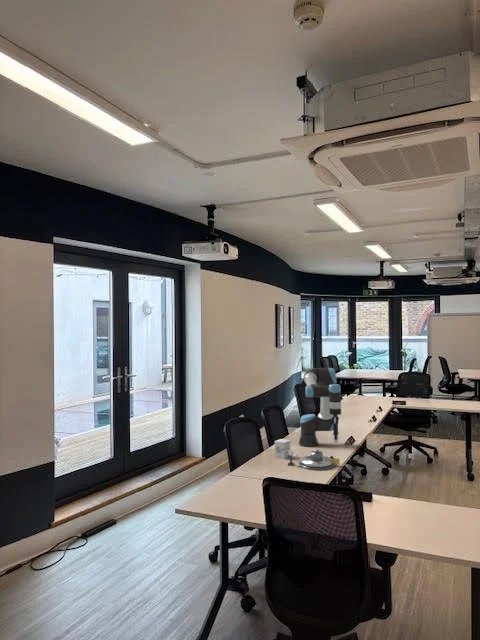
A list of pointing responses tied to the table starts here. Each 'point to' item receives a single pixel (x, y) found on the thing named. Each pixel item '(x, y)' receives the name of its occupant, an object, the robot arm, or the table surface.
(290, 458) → the dial post
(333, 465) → the base
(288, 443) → the ink box
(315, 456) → the cover
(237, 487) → the table surface
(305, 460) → the turntable
